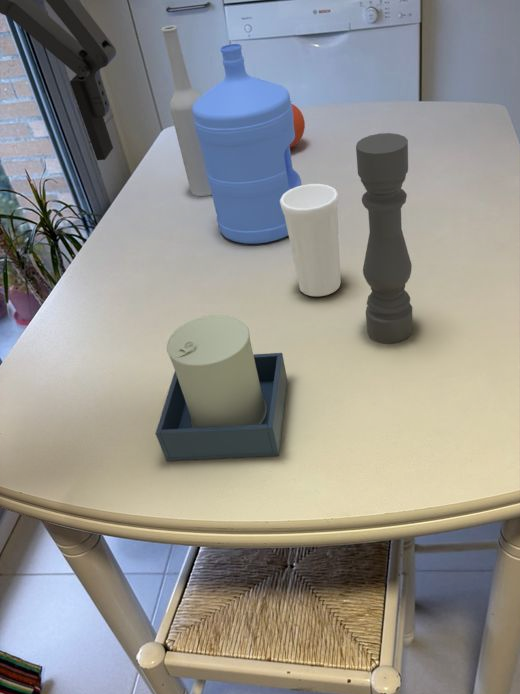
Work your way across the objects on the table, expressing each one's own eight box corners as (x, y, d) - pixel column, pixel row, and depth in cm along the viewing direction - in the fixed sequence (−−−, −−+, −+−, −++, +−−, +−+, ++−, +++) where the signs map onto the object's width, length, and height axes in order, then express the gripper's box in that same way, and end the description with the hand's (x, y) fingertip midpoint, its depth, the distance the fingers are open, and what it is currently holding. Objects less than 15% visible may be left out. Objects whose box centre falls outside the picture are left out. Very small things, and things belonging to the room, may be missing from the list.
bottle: (230, 187, 127) (195, 24, 108) (202, 199, 125) (161, 34, 105) (212, 178, 131) (175, 20, 112) (184, 190, 129) (142, 30, 109)
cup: (358, 283, 97) (350, 192, 87) (319, 308, 94) (307, 216, 84) (320, 267, 102) (309, 178, 92) (282, 290, 98) (267, 200, 88)
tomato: (253, 147, 141) (244, 98, 134) (296, 135, 143) (289, 86, 136) (270, 162, 134) (262, 111, 127) (315, 149, 136) (309, 98, 129)
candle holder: (375, 314, 91) (364, 131, 74) (418, 319, 89) (416, 133, 72) (361, 340, 87) (345, 153, 70) (405, 346, 85) (401, 155, 68)
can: (177, 417, 79) (148, 338, 71) (237, 380, 83) (217, 301, 75) (220, 454, 74) (194, 373, 65) (282, 413, 78) (265, 331, 69)
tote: (166, 461, 75) (155, 433, 72) (187, 386, 84) (178, 359, 81) (279, 455, 73) (272, 427, 70) (287, 380, 83) (282, 352, 80)
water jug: (246, 256, 107) (206, 71, 88) (204, 224, 117) (161, 51, 98) (324, 223, 112) (303, 41, 93) (278, 195, 122) (251, 26, 103)
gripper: (95, -174, 46) (174, 132, 61) (-223, -125, 49) (-73, 157, 63) (61, -170, 41) (156, 165, 55) (-294, -115, 43) (-113, 191, 58)
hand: (34, 161), depth 59 cm, fingers open, 13 cm apart
